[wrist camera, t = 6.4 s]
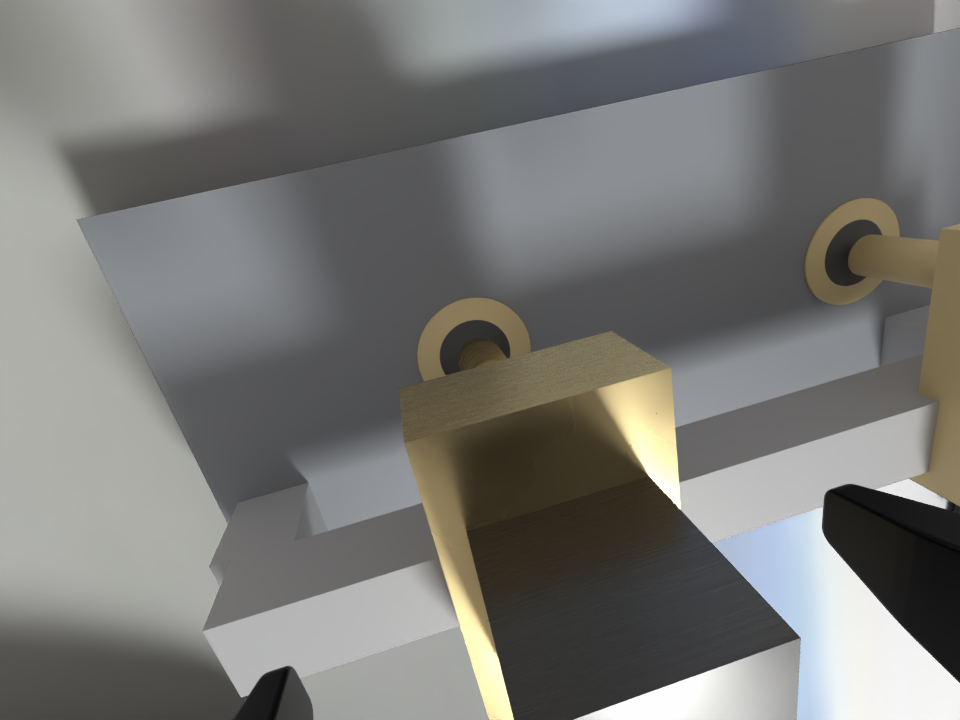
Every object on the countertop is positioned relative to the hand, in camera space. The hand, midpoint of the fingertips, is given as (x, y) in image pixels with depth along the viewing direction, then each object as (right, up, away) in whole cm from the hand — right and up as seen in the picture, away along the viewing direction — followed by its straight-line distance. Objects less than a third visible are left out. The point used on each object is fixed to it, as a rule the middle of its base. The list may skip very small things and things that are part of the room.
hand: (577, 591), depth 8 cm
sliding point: (-1, +2, +6) cm, 7 cm away
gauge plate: (+2, +5, +8) cm, 9 cm away
